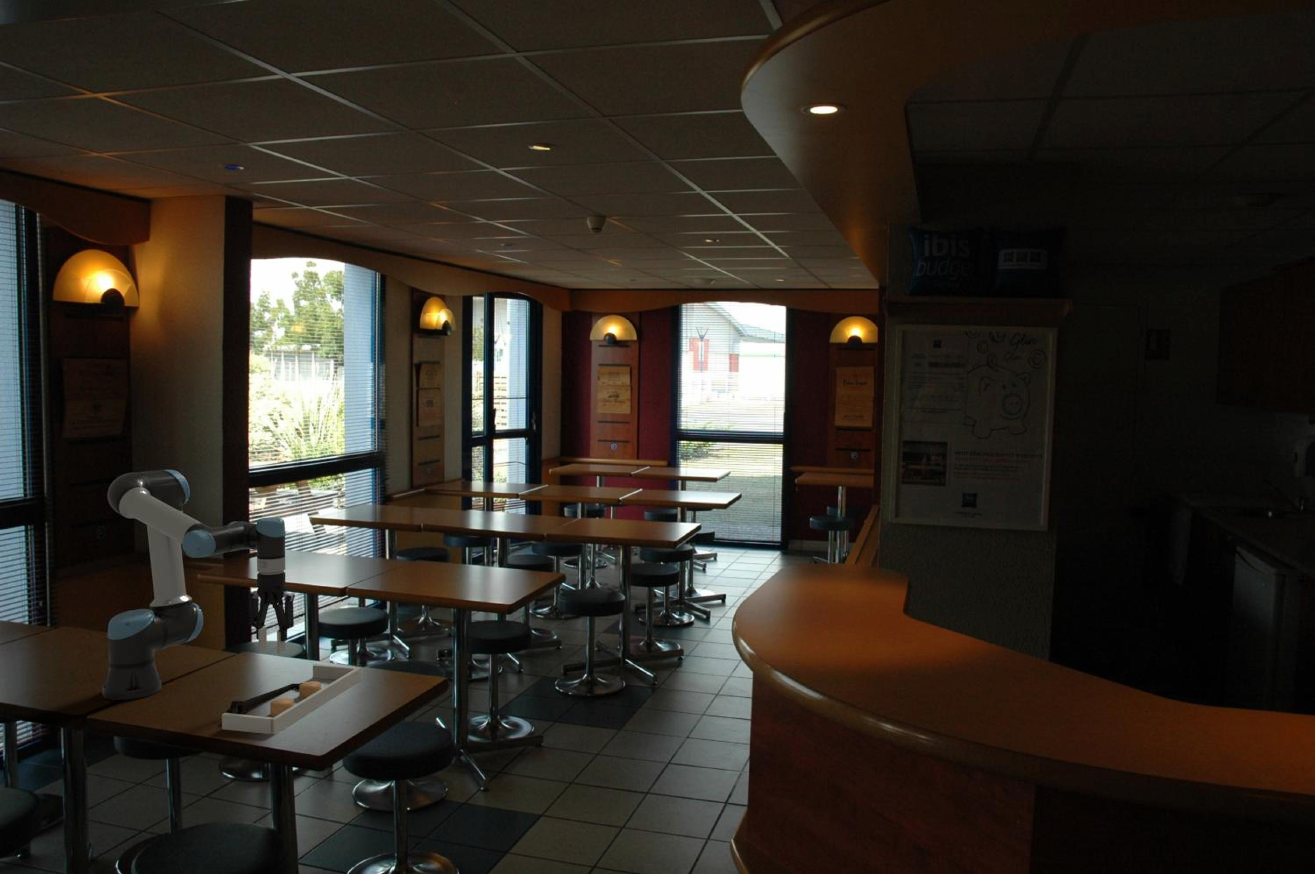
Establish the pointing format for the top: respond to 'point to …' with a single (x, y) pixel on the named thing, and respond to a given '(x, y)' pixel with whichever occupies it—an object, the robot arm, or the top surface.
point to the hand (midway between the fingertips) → (271, 651)
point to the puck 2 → (308, 689)
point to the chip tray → (274, 725)
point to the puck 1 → (280, 706)
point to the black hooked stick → (258, 700)
